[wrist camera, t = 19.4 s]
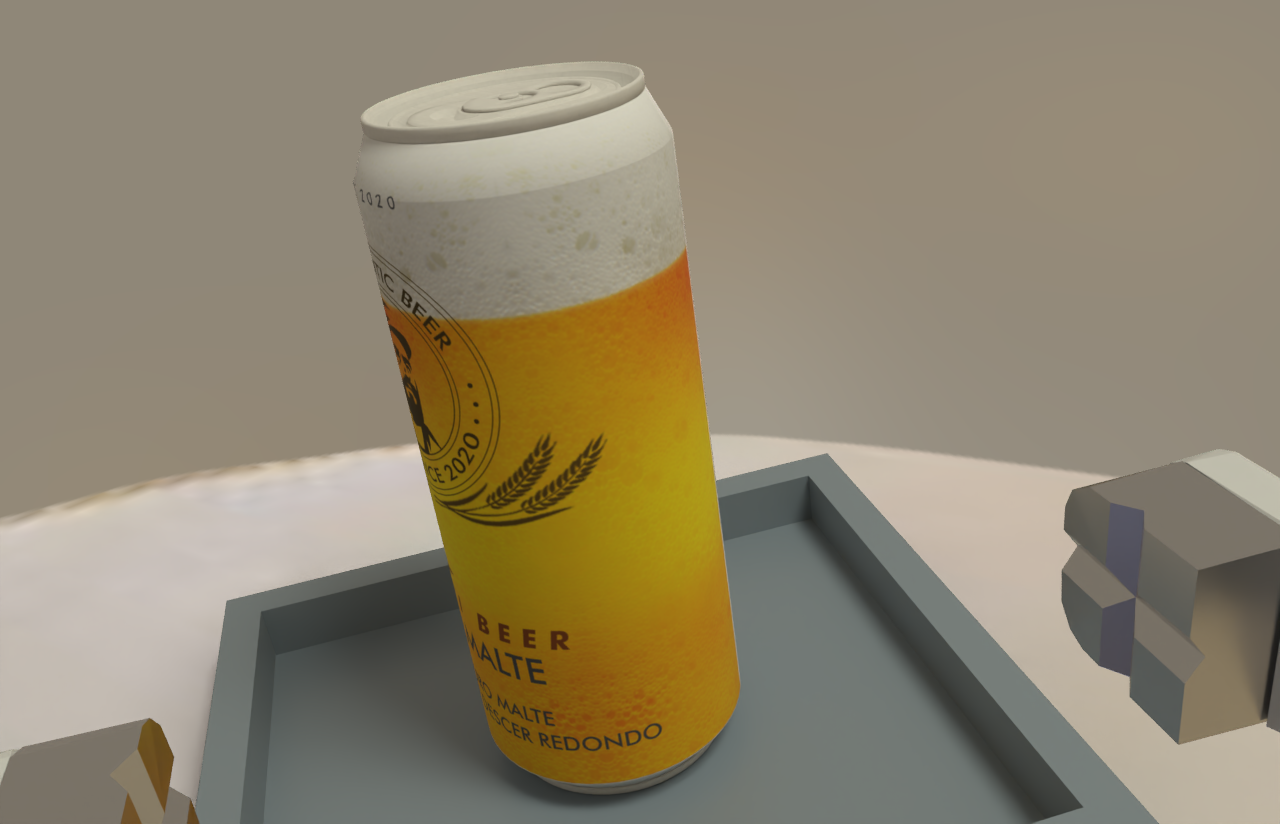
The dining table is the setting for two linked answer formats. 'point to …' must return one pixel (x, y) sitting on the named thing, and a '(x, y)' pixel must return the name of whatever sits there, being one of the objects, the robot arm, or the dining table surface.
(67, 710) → the dining table surface
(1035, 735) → the tray
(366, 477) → the dining table surface
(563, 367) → the beer can
